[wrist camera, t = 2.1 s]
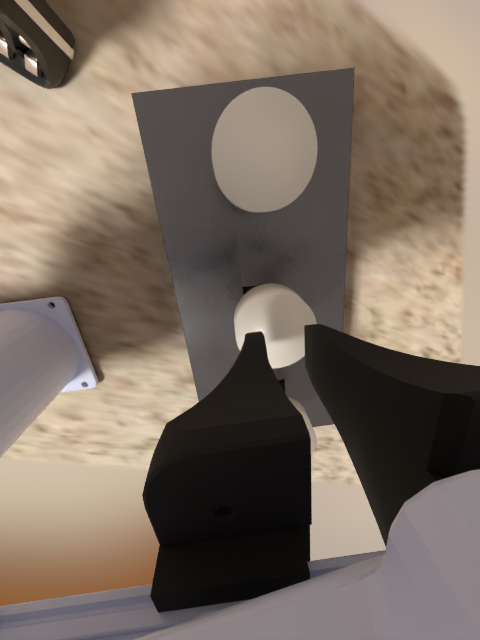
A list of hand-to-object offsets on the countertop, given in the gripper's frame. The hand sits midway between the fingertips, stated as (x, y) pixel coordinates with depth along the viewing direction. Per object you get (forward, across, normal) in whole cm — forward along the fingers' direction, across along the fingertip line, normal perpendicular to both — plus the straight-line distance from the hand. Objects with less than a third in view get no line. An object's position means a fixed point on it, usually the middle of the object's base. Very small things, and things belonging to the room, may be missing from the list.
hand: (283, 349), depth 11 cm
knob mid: (+7, 0, 0) cm, 7 cm away
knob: (+6, 0, -8) cm, 10 cm away
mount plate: (+9, 0, 0) cm, 9 cm away
